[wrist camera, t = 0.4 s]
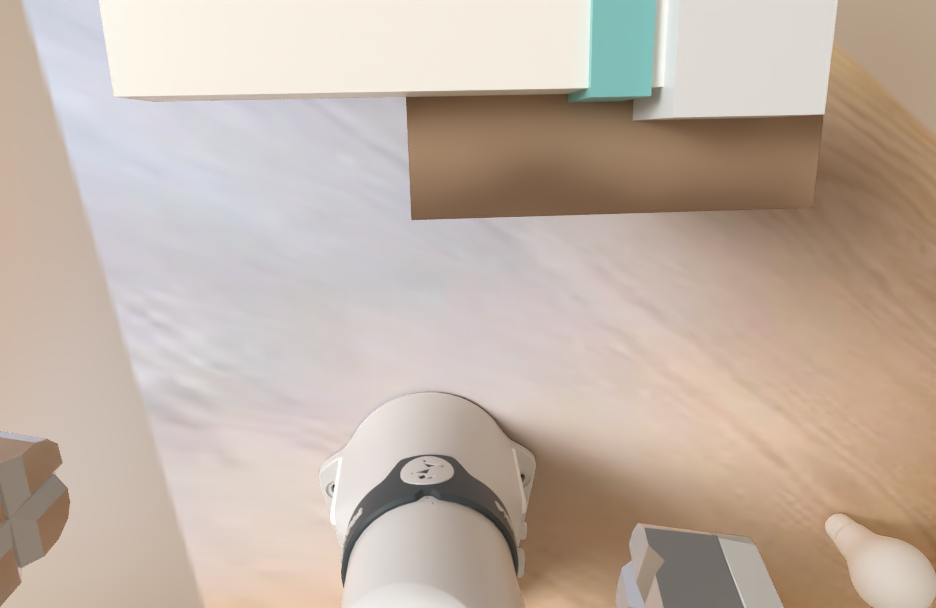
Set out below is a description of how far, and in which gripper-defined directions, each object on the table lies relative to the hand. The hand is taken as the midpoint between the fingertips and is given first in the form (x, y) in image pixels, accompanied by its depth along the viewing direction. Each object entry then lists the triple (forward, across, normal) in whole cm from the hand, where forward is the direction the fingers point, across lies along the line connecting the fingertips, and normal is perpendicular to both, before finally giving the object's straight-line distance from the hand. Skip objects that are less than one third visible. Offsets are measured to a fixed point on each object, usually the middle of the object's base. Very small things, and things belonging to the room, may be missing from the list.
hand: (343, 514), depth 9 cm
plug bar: (+18, 0, +5) cm, 19 cm away
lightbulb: (+42, +37, -34) cm, 66 cm away
